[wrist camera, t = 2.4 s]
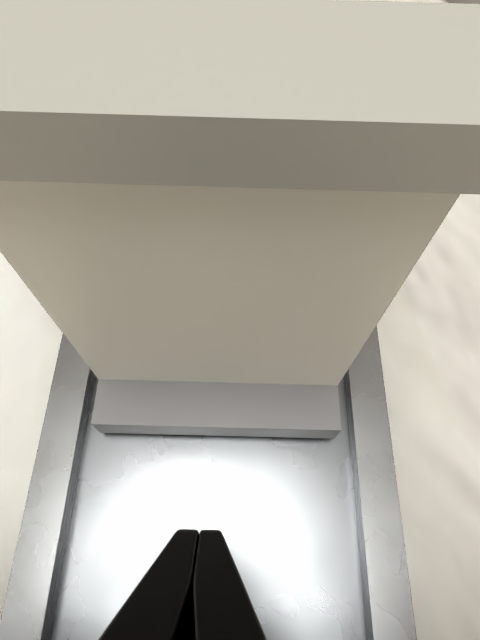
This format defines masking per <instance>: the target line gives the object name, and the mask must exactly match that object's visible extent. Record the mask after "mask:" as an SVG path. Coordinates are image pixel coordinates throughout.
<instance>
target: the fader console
mask: <svg viewBox="0 0 480 640" xmlns="http://www.w3.org/2000/svg"><path fill="white" fill-rule="evenodd" d="M97 385H98V378H97V377H96V376H95V374H94V373H93V372H92V370H91V369H90V368H89V366H88V365H87V364H86V362H85V361H84V360H83V359H82V357H81V356H80V355H79V353H78V352H77V351H76V349H75V348H74V347H73V345H72V344H71V343H70V342H69V340H68V339H67V338H66V336H65V335H64V334H63V335H62V340H61V344H60V349H59V354H58V358H57V363H56V367H55V372H54V377H53V381H52V386H51V390H50V395H49V400H48V404H47V409H46V413H45V418H44V423H43V427H42V432H41V436H40V441H39V446H38V450H37V455H36V459H35V464H34V469H33V473H32V478H31V482H30V487H29V492H28V496H27V501H26V506H25V510H24V515H23V519H22V524H21V529H20V533H19V538H18V542H17V547H16V552H15V556H14V561H13V565H12V570H11V575H10V579H9V584H8V588H7V593H6V598H5V602H4V607H3V611H2V616H1V621H0V640H98V639H99V637H100V636H101V635H102V633H103V632H104V631H105V629H106V628H107V626H108V625H109V624H110V622H111V621H112V619H113V618H114V617H115V615H116V614H117V613H118V611H119V610H120V608H121V607H122V606H123V604H124V603H125V601H126V600H127V599H128V597H129V596H130V594H131V593H132V592H133V590H134V589H135V588H136V586H137V585H138V583H139V582H140V581H141V579H142V578H143V576H144V575H145V574H146V572H147V571H148V570H149V568H150V567H151V565H152V564H153V563H154V561H155V560H156V558H157V557H158V556H159V554H160V553H161V552H162V550H163V549H164V547H165V546H166V545H167V543H168V542H169V540H170V539H171V538H172V536H173V535H174V534H175V532H176V531H177V530H179V529H196V530H198V532H199V533H200V531H201V530H220V531H221V532H222V534H223V536H224V538H225V541H226V543H227V545H228V548H229V550H230V553H231V555H232V557H233V560H234V562H235V565H236V567H237V569H238V572H239V574H240V576H241V579H242V581H243V584H244V586H245V588H246V591H247V593H248V596H249V598H250V600H251V603H252V605H253V607H254V610H255V612H256V615H257V617H258V619H259V622H260V624H261V626H262V629H263V631H264V634H265V636H266V638H267V640H417V638H416V630H415V623H414V615H413V607H412V599H411V591H410V583H409V576H408V568H407V560H406V552H405V544H404V537H403V529H402V521H401V513H400V505H399V497H398V490H397V482H396V474H395V466H394V458H393V450H392V443H391V435H390V427H389V419H388V411H387V403H386V396H385V388H384V380H383V372H382V364H381V357H380V349H379V341H378V333H377V325H376V327H375V328H374V330H373V331H372V333H371V334H370V336H369V337H368V339H367V341H366V342H365V344H364V345H363V347H362V348H361V350H360V352H359V353H358V355H357V356H356V358H355V359H354V361H353V363H352V364H351V366H350V367H349V369H348V370H347V372H346V373H345V375H344V377H343V378H342V380H341V381H340V383H339V384H338V394H339V406H340V419H341V431H340V432H339V434H338V435H337V436H336V437H335V438H334V439H327V438H287V437H247V436H207V435H167V434H127V433H100V432H99V431H98V430H97V429H96V428H95V427H94V426H92V425H91V420H92V414H93V409H94V403H95V397H96V391H97Z"/></svg>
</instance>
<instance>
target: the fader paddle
mask: <svg viewBox="0 0 480 640" xmlns="http://www.w3.org/2000/svg"><path fill="white" fill-rule="evenodd" d="M460 194H480V4H452V3H422V2H389V1H356V0H0V251H1V253H2V254H3V255H4V257H5V258H6V259H7V261H8V262H9V263H10V264H11V266H12V267H13V268H14V270H15V271H16V272H17V274H18V275H19V276H20V278H21V279H22V280H23V281H24V283H25V284H26V285H27V287H28V288H29V289H30V291H31V292H32V293H33V295H34V296H35V297H36V298H37V300H38V301H39V302H40V304H41V305H42V306H43V308H44V309H45V310H46V311H47V313H48V314H49V315H50V317H51V318H52V319H53V321H54V322H55V323H56V325H57V326H58V327H59V328H60V330H61V331H62V332H63V334H64V335H65V336H66V338H67V339H68V340H69V342H70V343H71V344H72V345H73V347H74V348H75V349H76V351H77V352H78V353H79V355H80V356H81V357H82V359H83V360H84V361H85V362H86V364H87V365H88V366H89V368H90V369H91V370H92V372H93V373H94V374H95V376H96V377H97V378H98V385H97V391H96V397H95V403H94V409H93V414H92V420H91V425H92V426H94V427H95V428H96V429H97V430H98V431H99V432H100V433H127V434H167V435H207V436H247V437H287V438H327V439H334V438H335V437H336V436H337V435H338V434H339V432H340V431H341V419H340V406H339V394H338V384H339V383H340V381H341V380H342V378H343V377H344V375H345V373H346V372H347V370H348V369H349V367H350V366H351V364H352V363H353V361H354V359H355V358H356V356H357V355H358V353H359V352H360V350H361V348H362V347H363V345H364V344H365V342H366V341H367V339H368V337H369V336H370V334H371V333H372V331H373V330H374V328H375V327H376V325H377V323H378V322H379V320H380V319H381V317H382V316H383V314H384V312H385V311H386V309H387V308H388V306H389V305H390V303H391V301H392V300H393V298H394V297H395V295H396V294H397V292H398V290H399V289H400V287H401V286H402V284H403V283H404V281H405V280H406V278H407V276H408V275H409V273H410V272H411V270H412V269H413V267H414V265H415V264H416V262H417V261H418V259H419V258H420V256H421V254H422V253H423V251H424V250H425V248H426V247H427V245H428V244H429V242H430V240H431V239H432V237H433V236H434V234H435V233H436V231H437V229H438V228H439V226H440V225H441V223H442V222H443V220H444V218H445V217H446V215H447V214H448V212H449V211H450V209H451V207H452V206H453V204H454V203H455V201H456V200H457V198H458V197H459V195H460Z"/></svg>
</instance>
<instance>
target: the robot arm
mask: <svg viewBox="0 0 480 640" xmlns="http://www.w3.org/2000/svg"><path fill="white" fill-rule="evenodd" d="M98 640H267V638H266V636H265V634H264V631H263V629H262V626H261V624H260V622H259V619H258V617H257V615H256V612H255V610H254V607H253V605H252V603H251V600H250V598H249V596H248V593H247V591H246V588H245V586H244V584H243V581H242V579H241V576H240V574H239V572H238V569H237V567H236V565H235V562H234V560H233V557H232V555H231V553H230V550H229V548H228V545H227V543H226V541H225V538H224V536H223V534H222V532H221V531H220V530H201V531H200V533H199V532H198V530H196V529H179V530H177V531H176V532H175V534H174V535H173V536H172V538H171V539H170V540H169V542H168V543H167V545H166V546H165V547H164V549H163V550H162V552H161V553H160V554H159V556H158V557H157V558H156V560H155V561H154V563H153V564H152V565H151V567H150V568H149V570H148V571H147V572H146V574H145V575H144V576H143V578H142V579H141V581H140V582H139V583H138V585H137V586H136V588H135V589H134V590H133V592H132V593H131V594H130V596H129V597H128V599H127V600H126V601H125V603H124V604H123V606H122V607H121V608H120V610H119V611H118V613H117V614H116V615H115V617H114V618H113V619H112V621H111V622H110V624H109V625H108V626H107V628H106V629H105V631H104V632H103V633H102V635H101V636H100V637H99V639H98Z"/></svg>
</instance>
